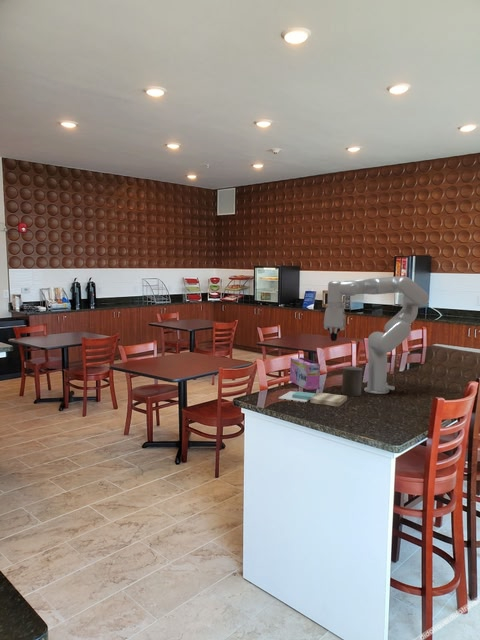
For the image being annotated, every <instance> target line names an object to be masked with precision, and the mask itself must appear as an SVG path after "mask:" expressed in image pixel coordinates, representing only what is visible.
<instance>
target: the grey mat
mask: <svg viewBox="0 0 480 640" xmlns="http://www.w3.org/2000/svg"><path fill="white" fill-rule="evenodd" d="M296 392H297V391H291V390H289V391H288V392H287V393H285V394H283V395H280V396H279V397H278V400H284V399H286V400H285V401H291V400H293V401H292V402H298V401H300V402H299V403H305V402H306V403H307V402H309V401H310V400H305V399H297V398H292V395H293V394H294V393H296Z"/></svg>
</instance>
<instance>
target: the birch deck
mask: <svg viewBox="0 0 480 640" xmlns="http://www.w3.org/2000/svg"><path fill="white" fill-rule="evenodd" d="M347 400H348V396H347V395H343V394H342V395H341V394H334V393H326V392H318V393H316V395H315V396H313V397H312V398H310V400H309V401H310V404H319V405H326V406H333V407H341V405H343V404H344V403H345V402H346V401H347Z"/></svg>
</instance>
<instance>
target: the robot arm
mask: <svg viewBox="0 0 480 640" xmlns="http://www.w3.org/2000/svg"><path fill="white" fill-rule="evenodd" d="M396 293H397V294H398V293H401V294H403V297H402V300H403V301H402V303H403V304H402V308H401V309H400V310H399V311H398V312H397V313H396V314H395V315H394V316H393V317H391V319H389V320H387V322H386V323H385V324H384V331H385V332H382V331H374V332H371V333H370V334H369V335H368V338H367V349H368V350H367V351H368V362H367V363H368V364H367V384H366V385H367V386H366V387H364V389H363V390H364V391H365V392H366V393H370V394H374V395H375V394H376V395H377V394H380V395H383V394H384V395H385V394H388V393H389V392H390V390H391V391H395V386H394V385H389V383H388V382H387V377H388V376H387V373H388V372H387V371H388V370H387V368H388V353H390V352H393V350H394V349H396V348H397V347H398V346H399V345H400V344H402V343H403V342H404V341H405V340H406V339H408V338H409V336H410V334H411V332H412V328H411V324H412V323H413V322H414V321H415V320H416V318H417V316H418V313H419V312H418V311H419V308H422V307H425V306H426V305H427V304H428V303H429V299H430V297H429V294H428V293H427V291H426V290H424V289H423V288H422V287H421V286H419V284H417V283H416V281H414V280H412V279H411V278H410V277H408V276H404V275H403V276H399V275H398V276H387V277H386V276H385V277H373V278H366V279H357V280H356V279H353V280H344V281H339V280H338V281H336V280H335V281H332V280H331V281H329V282H328V283H327V307H326V308H325V311H324V319H323V329H325V330H327V331H328V332H329V333H330V340H331V342H336V341H337V340H338V333H339V332H340V331H345V328H346V327H345V326H346V314H345V308H344V307H345V306H346V303H344V301H343V298H344V297H343V296H349V297H353V296H356V295H383V294H385V295H386V294H396Z"/></svg>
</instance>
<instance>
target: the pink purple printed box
mask: <svg viewBox="0 0 480 640" xmlns="http://www.w3.org/2000/svg"><path fill="white" fill-rule="evenodd" d="M289 363H290V365H289V368H290V369H289V381H290V382H291V383H293V384H295V385H297V386H299V387H301V388H303V389H305V390H307V391H310V390H320V378H321V377H320V375H321V373H320V372H321V364H320V363H318V362H315V361H312V360H310V359H307V358H304V357H299V358H293V357H290V361H289Z"/></svg>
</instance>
